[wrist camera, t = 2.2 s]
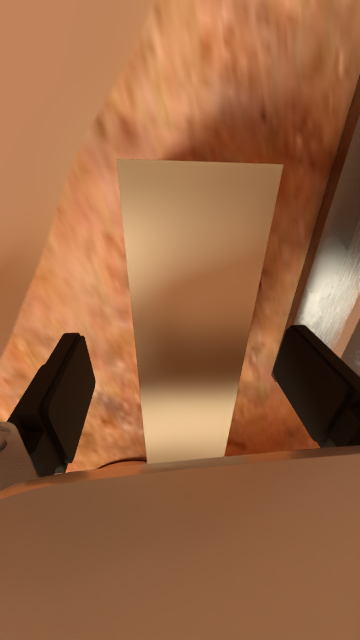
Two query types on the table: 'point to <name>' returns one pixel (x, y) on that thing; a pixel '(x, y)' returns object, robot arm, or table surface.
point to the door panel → (193, 292)
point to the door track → (335, 255)
